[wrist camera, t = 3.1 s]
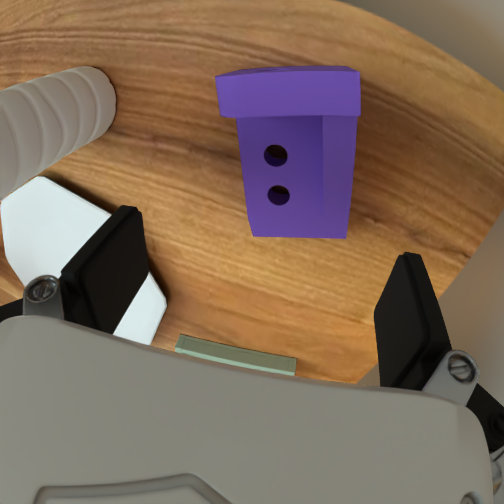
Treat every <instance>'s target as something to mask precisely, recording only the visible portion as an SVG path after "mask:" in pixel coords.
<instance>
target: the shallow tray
mask: <svg viewBox="0 0 504 504" xmlns="http://www.w3.org/2000/svg"><path fill="white" fill-rule="evenodd" d="M175 351H176V352H177V353H181V354H185V355H190V356H194V357H198V358H202V359H207V360H211V361H216V362H221V363H225V364H230V365H235V366H240V367H245V368H250V369H256V370H261V371H267V372H273V373H279V374H285V375H291V376H294V374H295V370H296V362H297V359H296V358H291V357H285V356H279V355H274V354H268V353H263V352H258V351H253V350H248V349H243V348H238V347H233V346H229V345H224V344H220V343H215V342H211V341H206V340H202V339H198V338H194V337H190V336H186V335H182V334H180V336H179V339H178V341H177V343H176V346H175Z"/></svg>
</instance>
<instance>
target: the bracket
mask: <svg viewBox="0 0 504 504" xmlns="http://www.w3.org/2000/svg"><path fill="white" fill-rule="evenodd" d="M215 80H216V87H217V95H218V102H219V110H220V116H222V117H229V118H236V124H237V132H238V140H239V148H240V156H241V165H242V173H243V181H244V189H245V198H246V206H247V214H248V220H249V223H250V227H251V230H252V234H253V236H258V237H302V238H340V239H346V235H347V228H348V220H349V211H350V202H351V193H352V183H353V173H354V161H355V148H356V133H357V116H361V95H360V72H359V71H356V70H354V69H352V68H349V67H347V66H285V67H267V68H254V69H242V70H237V71H233V72H229V73H225V74H221V75H218V76H215ZM274 144H276V145H280V146H282V147H284V148H285V150H286V151H287V154H288V157H287V158H284V159H278V158H274V157H272V156H271V155H270V154H269V153H268V152H267V150H266V148H267V147H268V146H270V145H274ZM275 185H281V186H284V187H285V188H287V189H288V191H289V193H288V194H279V193H277V192H275V191H273V190H272V189H271V187H272V186H275Z"/></svg>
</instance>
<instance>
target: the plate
mask: <svg viewBox="0 0 504 504" xmlns="http://www.w3.org/2000/svg"><path fill="white" fill-rule="evenodd" d="M0 208H1V221H2V231H3V239H4V247H5V254H6V258H7V260H8V262H9V264H10V265H11V267H12V268H13V270H14V271H15V273H16V274H17V276H18V277H19V279H20V280H21V282H22V283H23V285H24V286H25V287H26V286H27V284H28V283H29V282H30V281H32V280H33V279H34V278H36V277H39V276H41V275H53V276H56V277H57V278H59V277H60V276H61V272H60V271H61V270H62V269H63V267H64V266H65V265H66V264H67V263H68V262H69V261H70V259H71V258H72V257H73V256H74V255H75V254H76V253H77V251H78V250H79V249H80V248H81V247H82V246H83V245H84V244H85V243H86V242H87V240H88V239H89V238H90V237H91V236H92V235H93V234H94V233H95V232H96V231H97V230H98V229H99V228H100V227H101V226H102V224H103V223H104V222H105V221H106V220H107V219H108V218H109V217H110V216H111V215H112V214H113V213H111V212H109V211H107V210H105V209H103V208H102V207H100V206H98V205H96V204H94V203H93V202H91V201H89V200H87V199H85V198H84V197H82V196H80V195H78V194H76V193H75V192H73V191H71V190H69V189H68V188H66V187H64V186H62V185H61V184H59V183H57V182H55V181H54V180H52V179H50V178H48V177H47V176H37V177H35V178H34V179H32V180H31V181H29V182H28V183H26V184H25V185H23V186H22V187H20V188H19V189H17V190H16V191H14V192H13V193H12V194H10V195H9V196H7V197H6V198H5V199H3V200H2V203H1V206H0ZM166 307H167V299H166V296H165V294H164V293H163V291H162V289H161V288H160V286H159V284H158V283H157V281H156V279H155V278H154V276H153V274H152V273H151V271H150V269H149V274H148V276H147V278H146V280H145V281H144V283H143V285H142V286H141V288H140V289H139V291H138V293H137V294H136V296H135V298H134V299H133V301H132V303H131V304H130V306H129V308H128V309H127V311H126V313H125V314H124V316H123V318H122V320H121V321H120V323H119V325H118V326H117V328H116V330H115V332H114V333H113V335H115V336H119V337H122V338H125V339H129V340H132V341H136V342H139V343H143V344H147V345H150V344H151V342H152V340H153V337H154V335H155V333H156V330H157V328H158V326H159V323H160V321H161V319H162V316H163V314H164V312H165V309H166Z"/></svg>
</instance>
